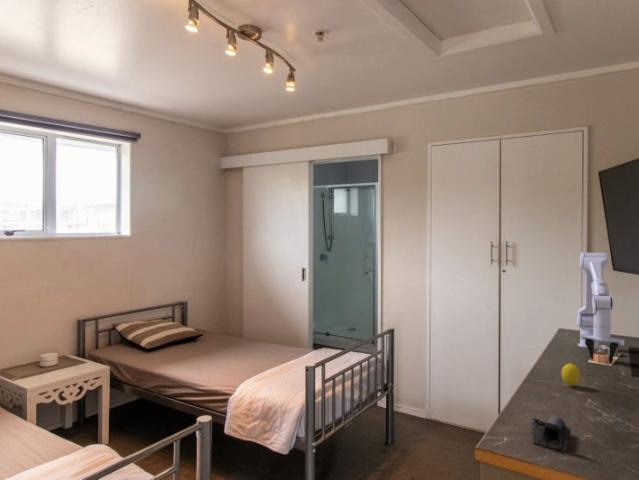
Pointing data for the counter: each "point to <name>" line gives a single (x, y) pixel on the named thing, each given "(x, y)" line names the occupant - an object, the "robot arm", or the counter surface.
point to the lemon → (570, 374)
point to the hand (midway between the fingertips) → (601, 360)
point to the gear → (601, 357)
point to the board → (607, 350)
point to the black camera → (550, 433)
